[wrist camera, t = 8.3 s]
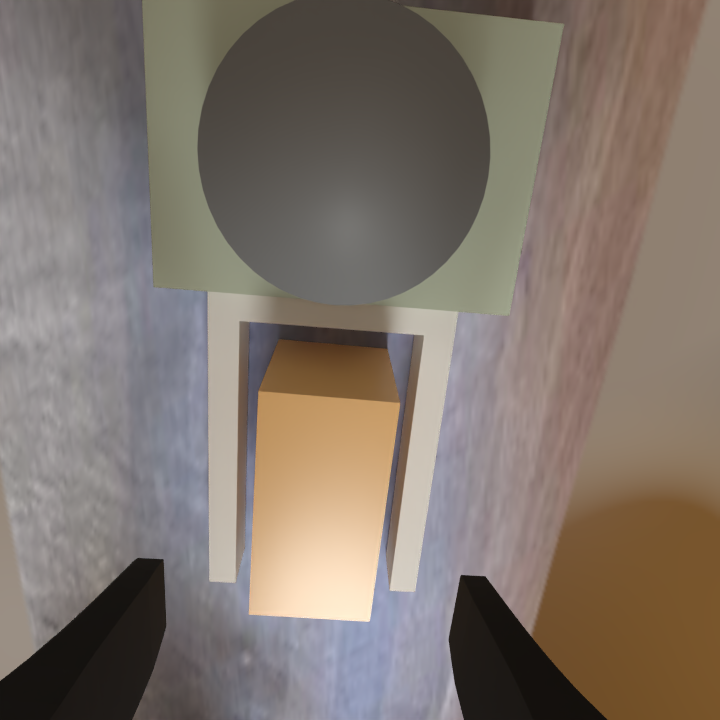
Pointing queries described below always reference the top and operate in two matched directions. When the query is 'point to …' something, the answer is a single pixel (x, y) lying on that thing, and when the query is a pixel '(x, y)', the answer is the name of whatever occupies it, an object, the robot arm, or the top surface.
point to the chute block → (321, 479)
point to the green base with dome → (339, 198)
